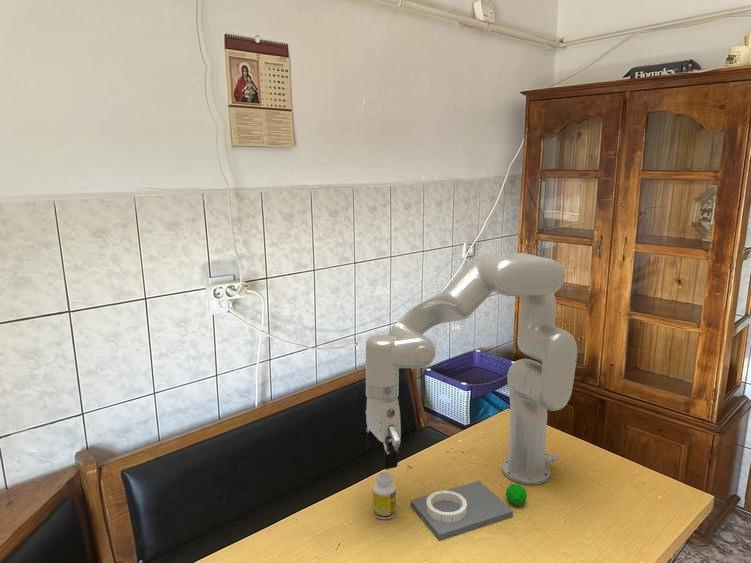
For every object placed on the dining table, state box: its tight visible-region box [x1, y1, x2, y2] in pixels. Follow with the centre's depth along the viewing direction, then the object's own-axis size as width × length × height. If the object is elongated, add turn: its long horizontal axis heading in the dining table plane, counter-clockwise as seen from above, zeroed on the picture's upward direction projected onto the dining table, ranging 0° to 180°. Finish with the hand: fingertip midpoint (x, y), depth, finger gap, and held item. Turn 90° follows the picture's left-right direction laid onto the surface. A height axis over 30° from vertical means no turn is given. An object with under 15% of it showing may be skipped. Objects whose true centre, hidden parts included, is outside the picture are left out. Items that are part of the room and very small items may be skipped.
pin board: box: [410, 480, 514, 542], centre depth 129 cm, size 20×14×4 cm
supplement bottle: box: [372, 471, 397, 520], centre depth 128 cm, size 5×5×10 cm
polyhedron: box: [505, 483, 528, 506], centre depth 131 cm, size 5×5×5 cm
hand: (381, 457), depth 126 cm, fingers open, 9 cm apart
